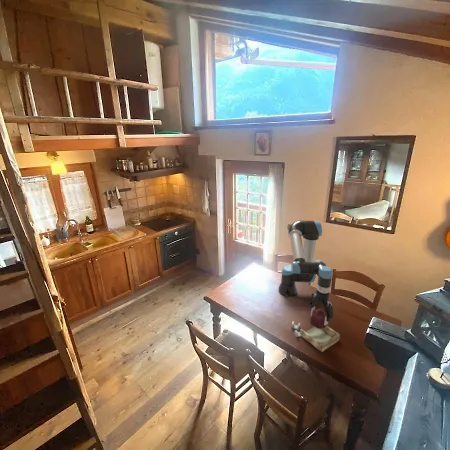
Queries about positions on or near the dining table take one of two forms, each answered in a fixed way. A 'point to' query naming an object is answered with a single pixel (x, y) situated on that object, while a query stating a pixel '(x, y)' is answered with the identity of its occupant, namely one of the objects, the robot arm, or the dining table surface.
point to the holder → (321, 337)
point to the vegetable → (318, 318)
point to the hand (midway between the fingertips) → (319, 319)
